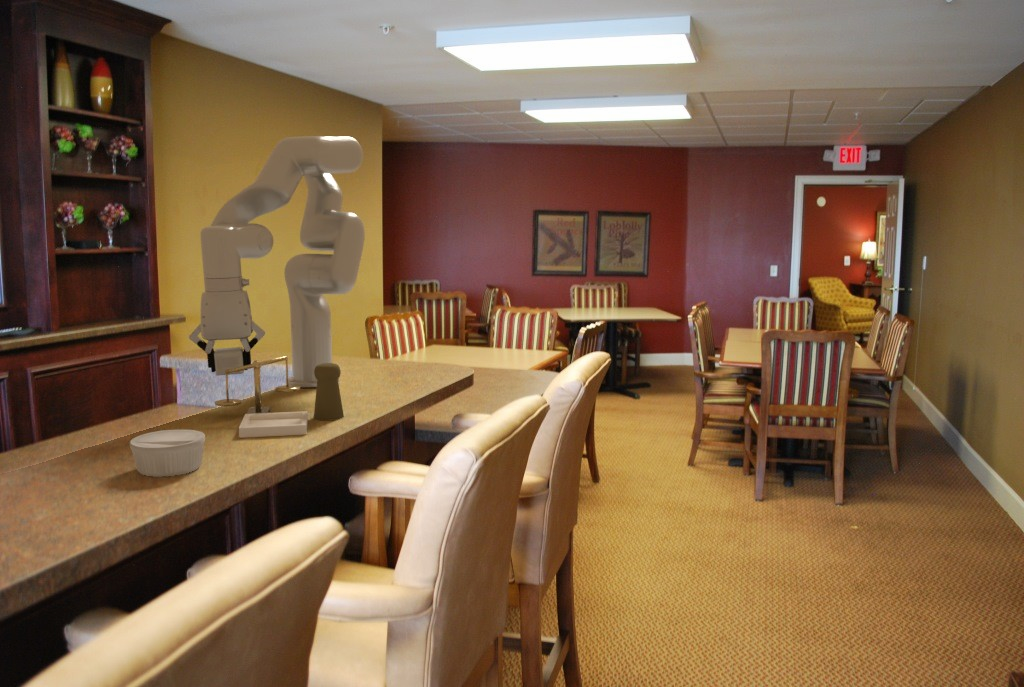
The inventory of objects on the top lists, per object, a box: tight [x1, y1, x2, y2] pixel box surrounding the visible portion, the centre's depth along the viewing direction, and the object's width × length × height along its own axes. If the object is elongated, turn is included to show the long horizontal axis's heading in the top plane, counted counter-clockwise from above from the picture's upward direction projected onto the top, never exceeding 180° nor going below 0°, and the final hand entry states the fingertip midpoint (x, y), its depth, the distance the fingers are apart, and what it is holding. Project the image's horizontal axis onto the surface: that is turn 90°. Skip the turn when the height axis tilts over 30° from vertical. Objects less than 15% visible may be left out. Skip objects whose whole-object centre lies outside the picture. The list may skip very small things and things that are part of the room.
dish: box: [238, 410, 309, 439], centre depth 162 cm, size 12×12×2 cm
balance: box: [214, 355, 301, 414], centre depth 172 cm, size 6×17×12 cm, turn 102°
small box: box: [214, 346, 245, 376], centre depth 180 cm, size 6×6×5 cm
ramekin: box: [129, 429, 206, 478], centre depth 135 cm, size 11×11×5 cm
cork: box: [313, 362, 345, 421], centre depth 171 cm, size 6×6×11 cm
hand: (230, 369), depth 180 cm, fingers closed on small box, 5 cm apart
